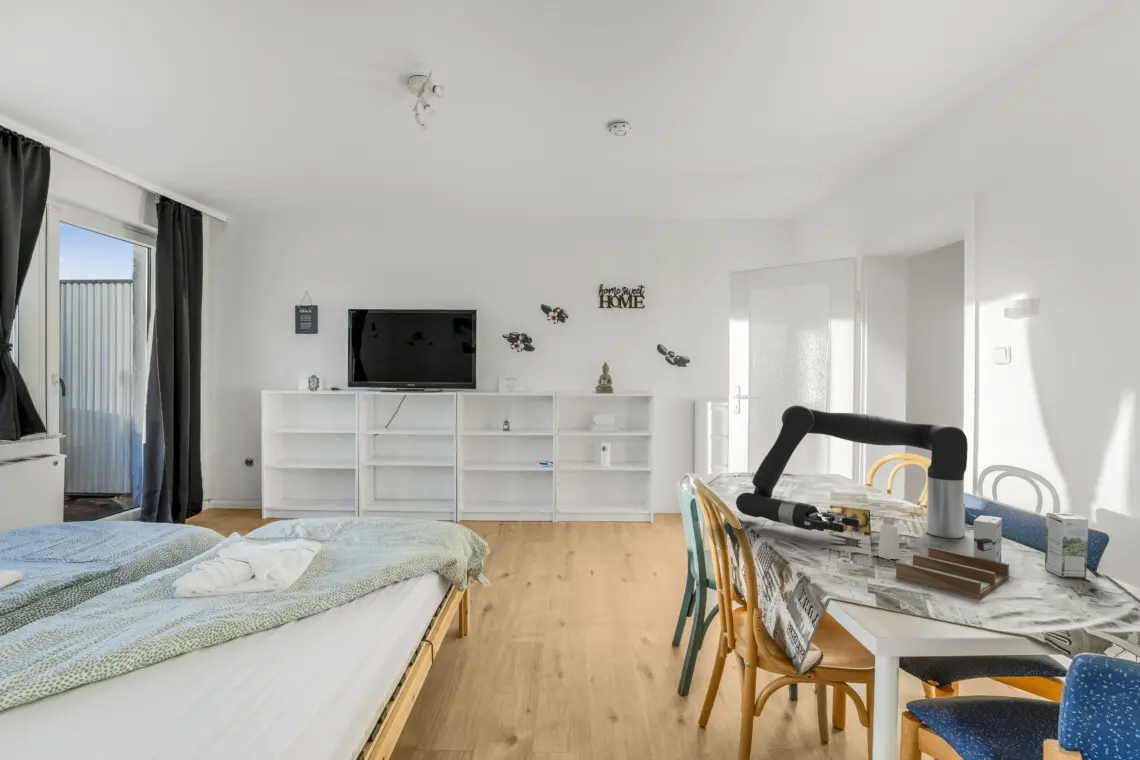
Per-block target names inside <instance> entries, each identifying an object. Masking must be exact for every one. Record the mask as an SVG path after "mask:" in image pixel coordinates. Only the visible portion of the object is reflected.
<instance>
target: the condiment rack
mask: <svg viewBox="0 0 1140 760" xmlns="http://www.w3.org/2000/svg"><path fill="white" fill-rule="evenodd" d="M927 552H928V555H927V556H926V555H921V554H917V553H913V554H912V564H910V563H905V562H901V561H896V564H895V577H896V578H898V577H899V579H901V580H905V579H906V580H905V581H910V582H912V583H913V582H914V583H916V582H917V584H919V585H920V584H921V585H924V586H928V587H932V588H935V589H940V590H942V589H944V590H943V591H946V590H947V591H946V592H950V591H951V593H954V592H955V593H954V594H957V593H958V595H961V594H962V596H965V595H966V596H965V597H968V596H970V597H969V598H972V597H973V599H976V598H977V599H976V600H980V599H981V598H983V597H984V596H986V595H987V594H989V593H991V592H992V591H993V590H995V589H996V588H997V587H999V586H1000V585H1001V584H1003V583H1005V582H1006V581H1008V580H1009V579H1010V576H1009V575H1010V563H1007V562H1006V563H1005V562H1002V561H1001V562H997V561H992V560H988V559H983V558H979V557H974V555H969V554H965V553H964V554H963V553H960V552H955V551H950V550H946V549H941V548H937V547H933V546H929V547H928V551H927ZM1007 579H1008V580H1007ZM979 598H980V599H979Z"/></svg>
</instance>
